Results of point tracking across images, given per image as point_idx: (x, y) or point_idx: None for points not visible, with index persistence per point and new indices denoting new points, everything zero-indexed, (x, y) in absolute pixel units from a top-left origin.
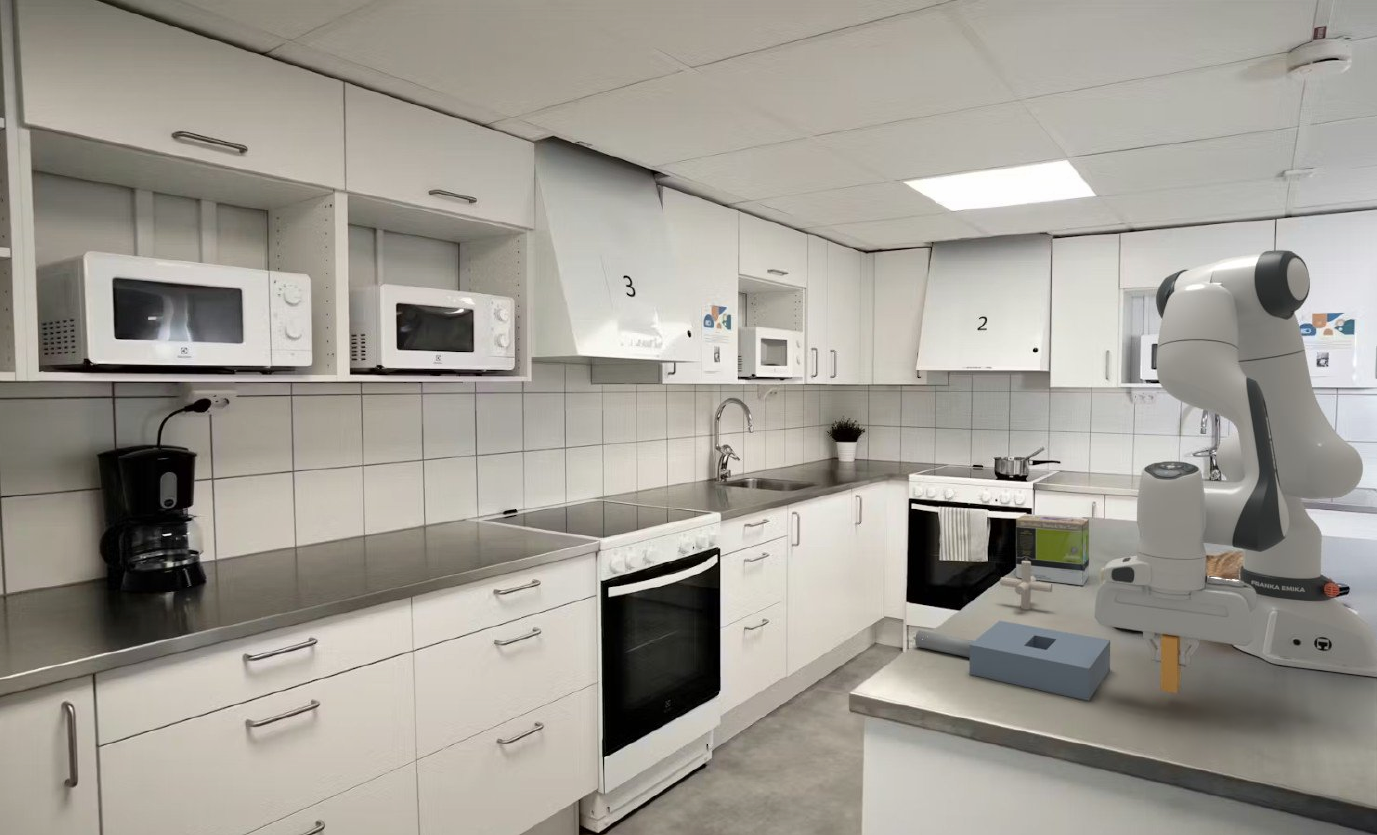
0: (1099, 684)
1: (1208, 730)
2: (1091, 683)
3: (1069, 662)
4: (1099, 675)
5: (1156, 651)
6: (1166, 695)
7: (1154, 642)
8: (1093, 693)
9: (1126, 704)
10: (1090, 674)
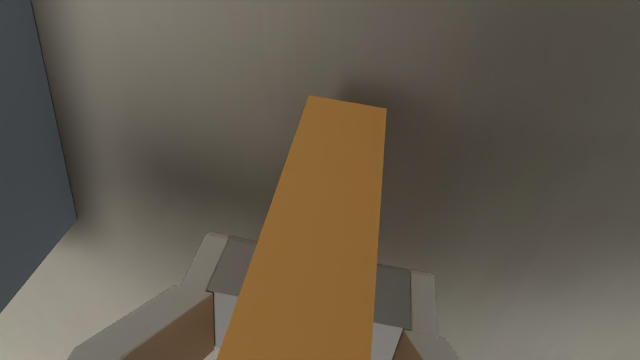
0: (36, 34)
1: (442, 304)
2: (36, 220)
3: None
4: (6, 57)
5: (217, 346)
6: (329, 34)
7: (177, 329)
8: (61, 152)
9: (190, 201)
10: (12, 269)
